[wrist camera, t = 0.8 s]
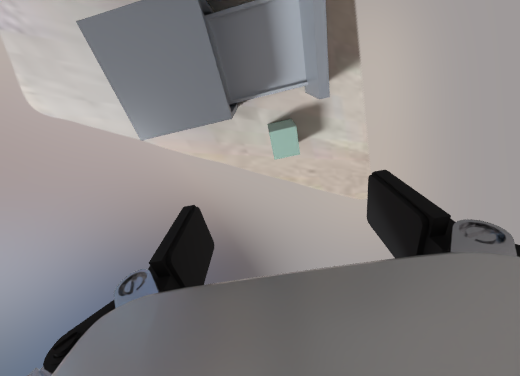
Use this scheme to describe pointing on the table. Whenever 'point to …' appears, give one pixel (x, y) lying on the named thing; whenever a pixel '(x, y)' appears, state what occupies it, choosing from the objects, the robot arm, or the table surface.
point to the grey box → (160, 64)
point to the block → (284, 139)
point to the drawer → (271, 48)
